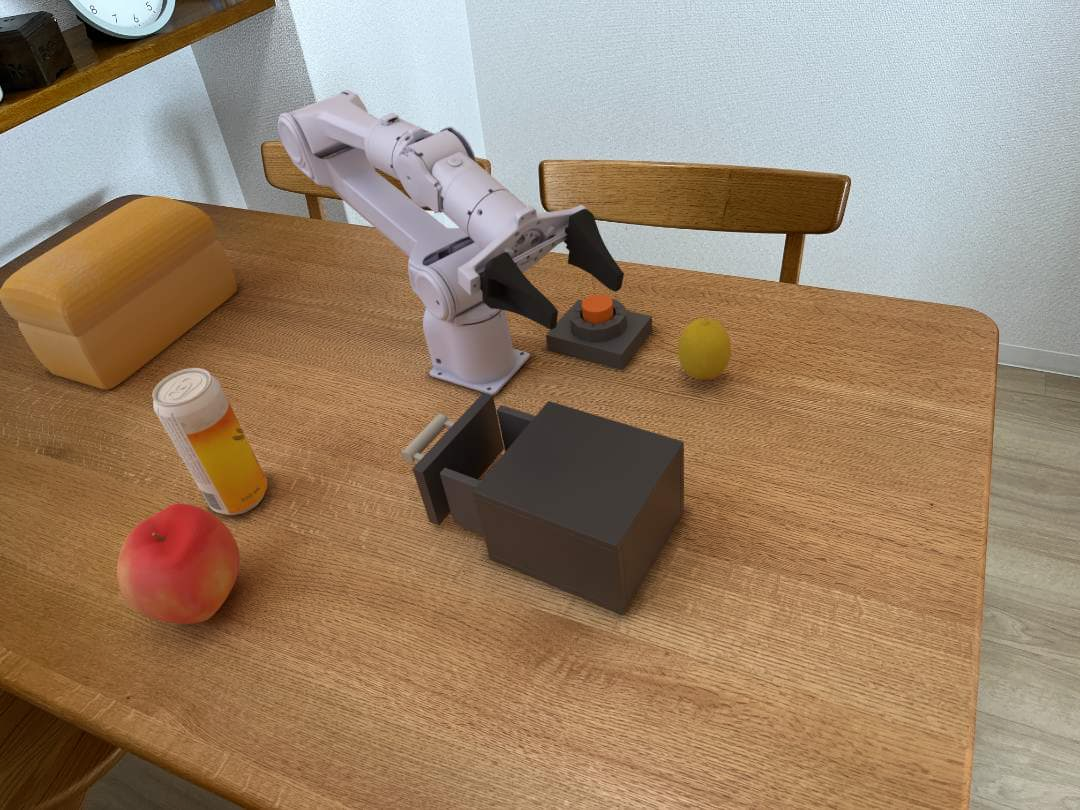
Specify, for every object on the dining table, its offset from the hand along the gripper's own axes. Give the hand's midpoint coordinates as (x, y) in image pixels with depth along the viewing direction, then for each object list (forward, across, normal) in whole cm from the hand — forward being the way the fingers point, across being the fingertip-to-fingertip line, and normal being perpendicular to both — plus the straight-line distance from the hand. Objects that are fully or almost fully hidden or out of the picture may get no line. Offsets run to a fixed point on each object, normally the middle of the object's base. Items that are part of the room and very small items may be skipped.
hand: (587, 301), depth 70 cm
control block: (-8, +13, +22) cm, 26 cm away
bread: (-55, -27, +35) cm, 71 cm away
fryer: (+12, -8, +16) cm, 21 cm away
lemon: (+5, +15, +18) cm, 24 cm away
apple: (-6, -39, +21) cm, 44 cm away
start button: (-9, +13, +18) cm, 24 cm away
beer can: (-16, -31, +24) cm, 42 cm away
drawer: (+3, -12, +17) cm, 21 cm away
